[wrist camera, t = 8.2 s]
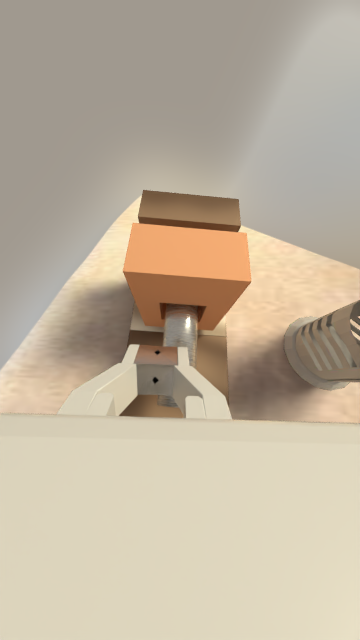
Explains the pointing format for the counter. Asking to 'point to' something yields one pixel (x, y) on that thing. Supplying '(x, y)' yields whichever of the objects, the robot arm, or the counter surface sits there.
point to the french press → (325, 348)
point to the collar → (186, 271)
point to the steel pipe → (180, 337)
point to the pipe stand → (209, 343)
